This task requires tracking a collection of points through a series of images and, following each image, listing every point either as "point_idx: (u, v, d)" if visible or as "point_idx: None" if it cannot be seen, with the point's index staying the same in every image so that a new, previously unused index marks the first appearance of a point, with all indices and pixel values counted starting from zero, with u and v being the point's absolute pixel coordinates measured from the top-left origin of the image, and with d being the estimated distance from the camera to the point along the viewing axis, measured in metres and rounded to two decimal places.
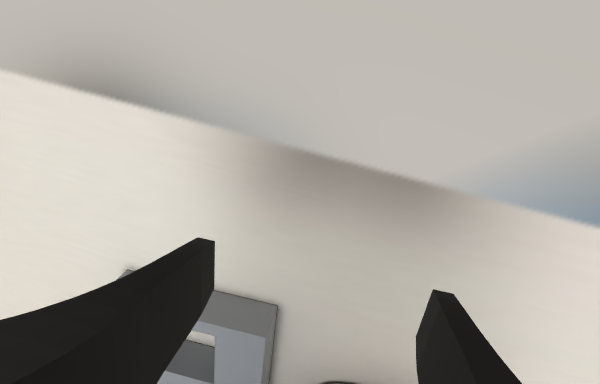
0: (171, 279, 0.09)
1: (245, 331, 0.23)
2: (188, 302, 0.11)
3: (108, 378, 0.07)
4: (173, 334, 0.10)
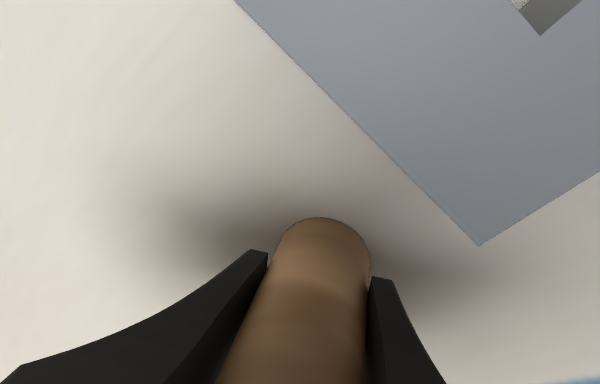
0: (237, 295, 0.09)
1: None
2: None
3: None
4: None
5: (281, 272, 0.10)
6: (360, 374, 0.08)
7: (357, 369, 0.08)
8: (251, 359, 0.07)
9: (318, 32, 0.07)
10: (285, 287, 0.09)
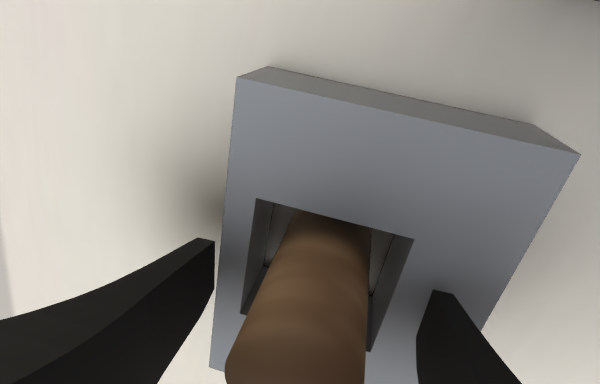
0: (171, 279, 0.09)
1: (233, 125, 0.10)
2: (188, 302, 0.11)
3: (108, 378, 0.07)
4: (173, 334, 0.10)
5: (294, 241, 0.12)
6: (364, 320, 0.10)
7: (361, 315, 0.10)
8: (273, 303, 0.09)
9: None
10: (298, 252, 0.11)
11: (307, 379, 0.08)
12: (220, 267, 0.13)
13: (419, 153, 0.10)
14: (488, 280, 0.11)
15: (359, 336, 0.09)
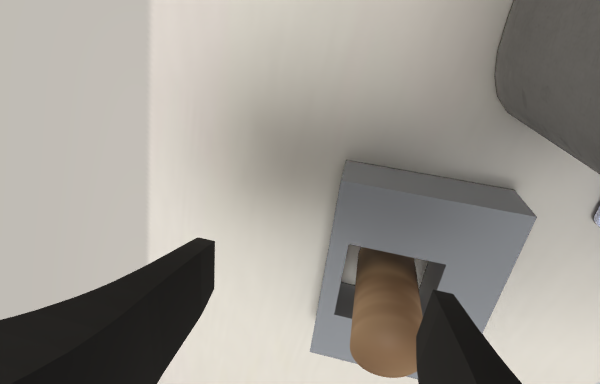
0: (171, 279, 0.09)
1: None
2: (188, 302, 0.11)
3: (108, 378, 0.07)
4: (173, 334, 0.10)
5: (372, 268, 0.19)
6: (421, 313, 0.17)
7: (419, 310, 0.17)
8: (373, 306, 0.16)
9: None
10: (377, 275, 0.18)
11: (397, 345, 0.16)
12: (323, 286, 0.20)
13: (446, 218, 0.17)
14: (492, 286, 0.18)
15: None
